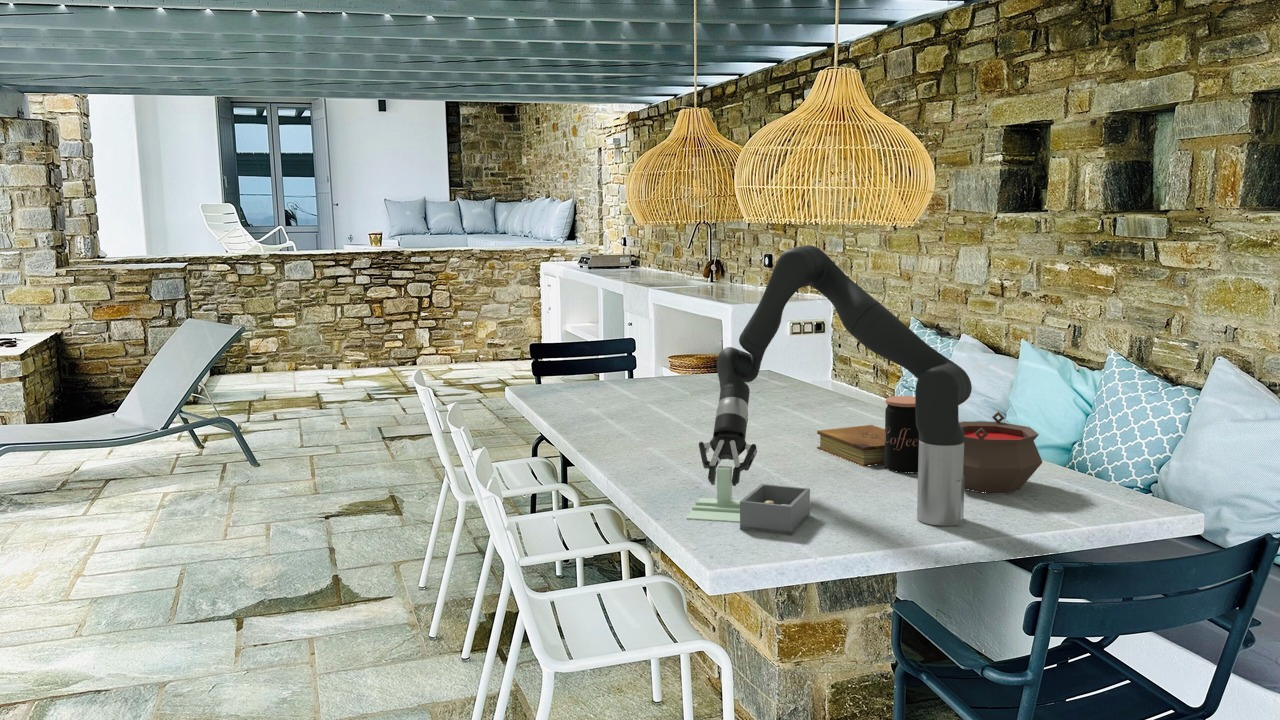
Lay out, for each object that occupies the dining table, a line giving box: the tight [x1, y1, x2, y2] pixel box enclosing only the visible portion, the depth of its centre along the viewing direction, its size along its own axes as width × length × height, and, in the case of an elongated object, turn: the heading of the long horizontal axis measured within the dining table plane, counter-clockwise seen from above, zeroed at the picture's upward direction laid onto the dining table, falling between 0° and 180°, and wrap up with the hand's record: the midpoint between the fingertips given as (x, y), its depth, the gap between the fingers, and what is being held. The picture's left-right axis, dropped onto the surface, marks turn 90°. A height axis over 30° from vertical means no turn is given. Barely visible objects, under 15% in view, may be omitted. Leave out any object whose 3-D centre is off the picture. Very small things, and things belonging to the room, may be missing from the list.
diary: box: [816, 424, 885, 467], centre depth 275 cm, size 23×19×6 cm
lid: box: [686, 465, 742, 523], centre depth 225 cm, size 12×16×9 cm
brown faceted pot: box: [959, 411, 1043, 494], centre depth 241 cm, size 24×24×16 cm
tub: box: [739, 483, 811, 536], centre depth 215 cm, size 11×15×6 cm
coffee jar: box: [883, 395, 919, 474], centre depth 258 cm, size 11×11×18 cm
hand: (723, 483), depth 228 cm, fingers open, 4 cm apart
